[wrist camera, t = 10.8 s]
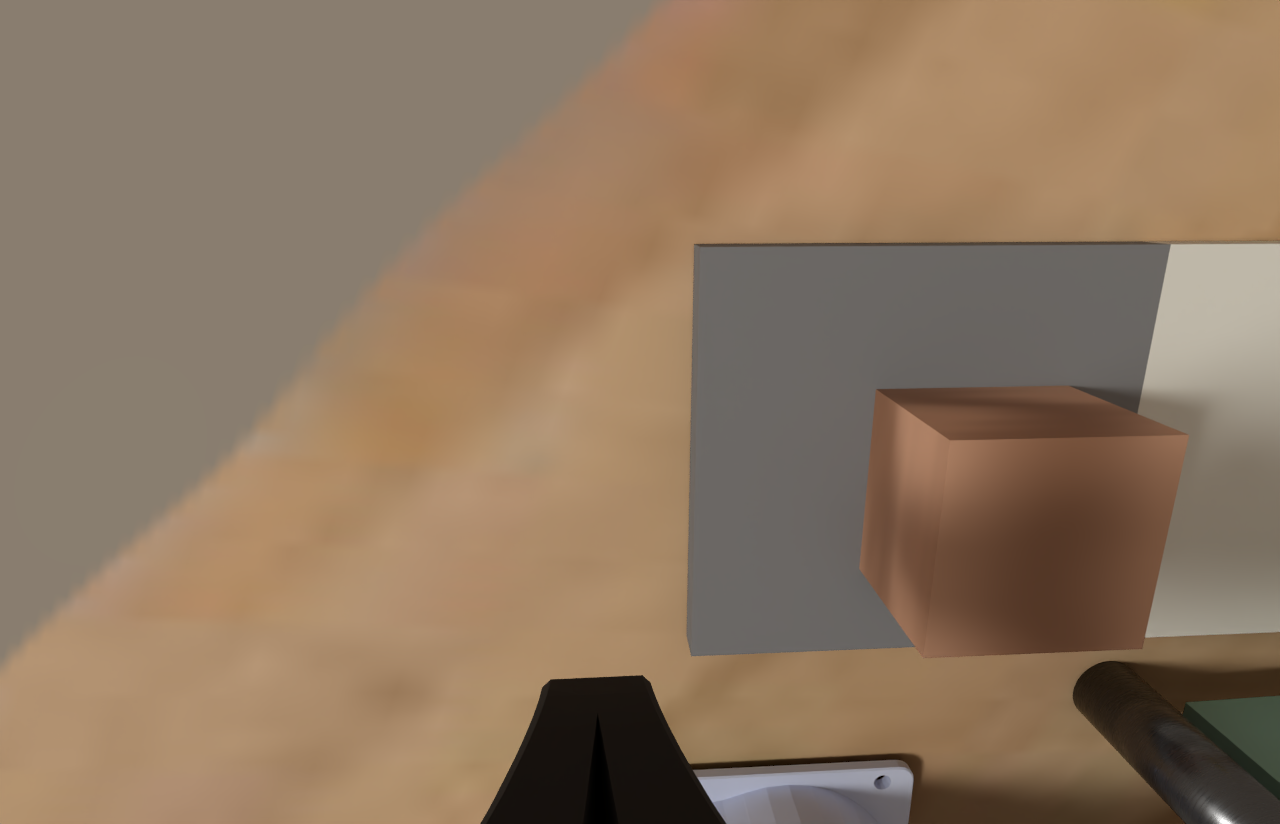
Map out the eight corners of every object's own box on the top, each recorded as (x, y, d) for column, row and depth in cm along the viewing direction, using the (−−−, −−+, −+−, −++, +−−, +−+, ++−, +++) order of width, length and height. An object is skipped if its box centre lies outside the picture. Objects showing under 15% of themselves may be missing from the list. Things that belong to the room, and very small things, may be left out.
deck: (686, 635, 21) (691, 656, 21) (694, 244, 18) (700, 246, 17) (1415, 606, 23) (1451, 624, 22) (1538, 239, 20) (1586, 242, 19)
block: (859, 568, 20) (923, 658, 16) (875, 389, 19) (950, 440, 15) (1038, 562, 20) (1142, 648, 17) (1067, 385, 19) (1189, 435, 15)
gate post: (1067, 718, 23) (1225, 891, 18) (1078, 662, 23) (1245, 823, 17) (1129, 715, 23) (1305, 886, 18) (1141, 660, 23) (1328, 818, 17)
